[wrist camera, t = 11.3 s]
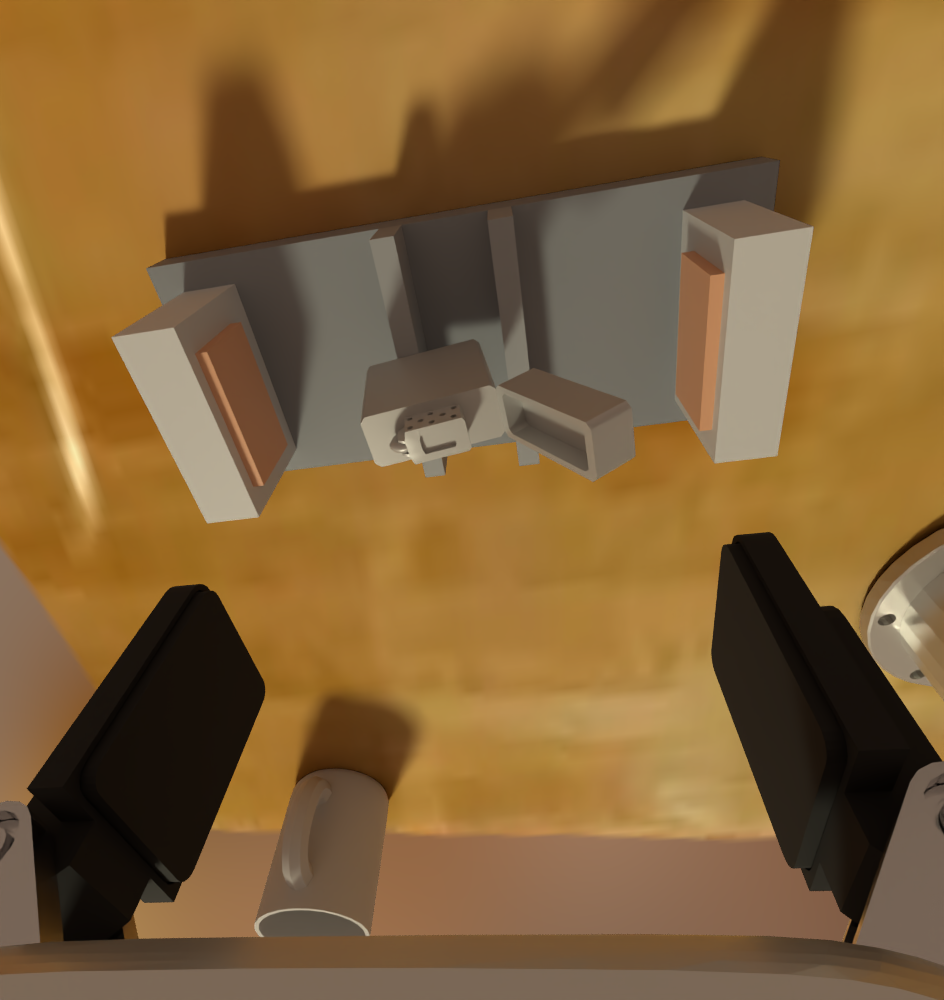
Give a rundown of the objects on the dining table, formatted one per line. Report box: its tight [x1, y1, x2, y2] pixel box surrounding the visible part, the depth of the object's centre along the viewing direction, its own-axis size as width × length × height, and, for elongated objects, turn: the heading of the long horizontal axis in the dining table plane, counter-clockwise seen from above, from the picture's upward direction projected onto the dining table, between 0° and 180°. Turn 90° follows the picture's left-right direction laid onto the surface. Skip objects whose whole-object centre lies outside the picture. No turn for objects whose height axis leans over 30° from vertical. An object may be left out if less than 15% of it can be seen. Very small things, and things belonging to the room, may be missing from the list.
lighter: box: [361, 339, 635, 482], centre depth 18 cm, size 7×2×8 cm, turn 103°
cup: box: [255, 769, 389, 937], centre depth 39 cm, size 7×10×9 cm
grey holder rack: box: [111, 157, 814, 523], centre depth 21 cm, size 22×9×6 cm, turn 99°
